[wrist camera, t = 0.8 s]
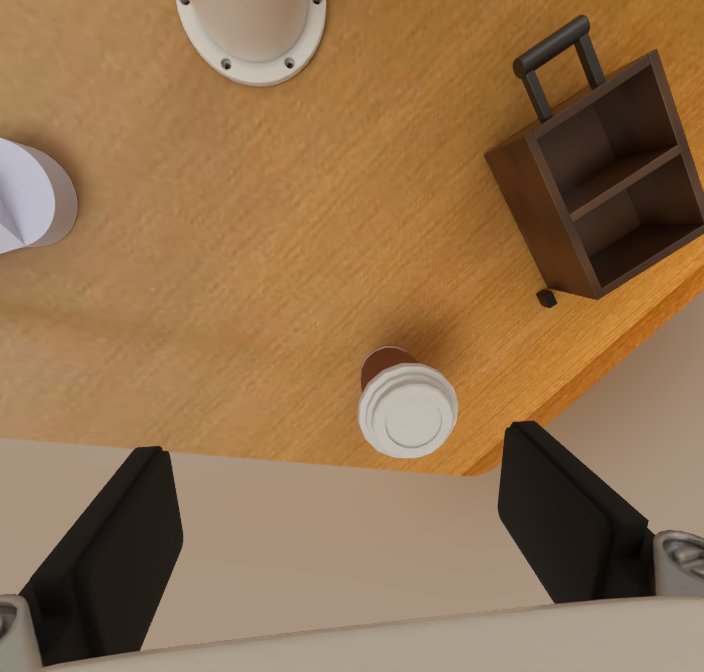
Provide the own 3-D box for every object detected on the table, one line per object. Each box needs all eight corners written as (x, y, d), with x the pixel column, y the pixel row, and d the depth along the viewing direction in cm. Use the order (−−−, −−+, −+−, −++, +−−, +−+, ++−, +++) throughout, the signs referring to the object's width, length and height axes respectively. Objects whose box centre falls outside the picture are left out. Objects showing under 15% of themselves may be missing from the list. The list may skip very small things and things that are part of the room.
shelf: (458, 102, 37) (495, 70, 30) (567, 28, 36) (633, -25, 29) (547, 288, 43) (597, 300, 35) (643, 227, 42) (715, 226, 35)
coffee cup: (354, 415, 45) (367, 478, 34) (342, 341, 43) (353, 382, 31) (430, 402, 46) (469, 460, 34) (423, 328, 43) (463, 363, 32)
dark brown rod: (535, 294, 43) (543, 296, 42) (651, 220, 42) (664, 220, 41) (541, 305, 44) (549, 308, 42) (656, 233, 43) (668, 233, 41)
